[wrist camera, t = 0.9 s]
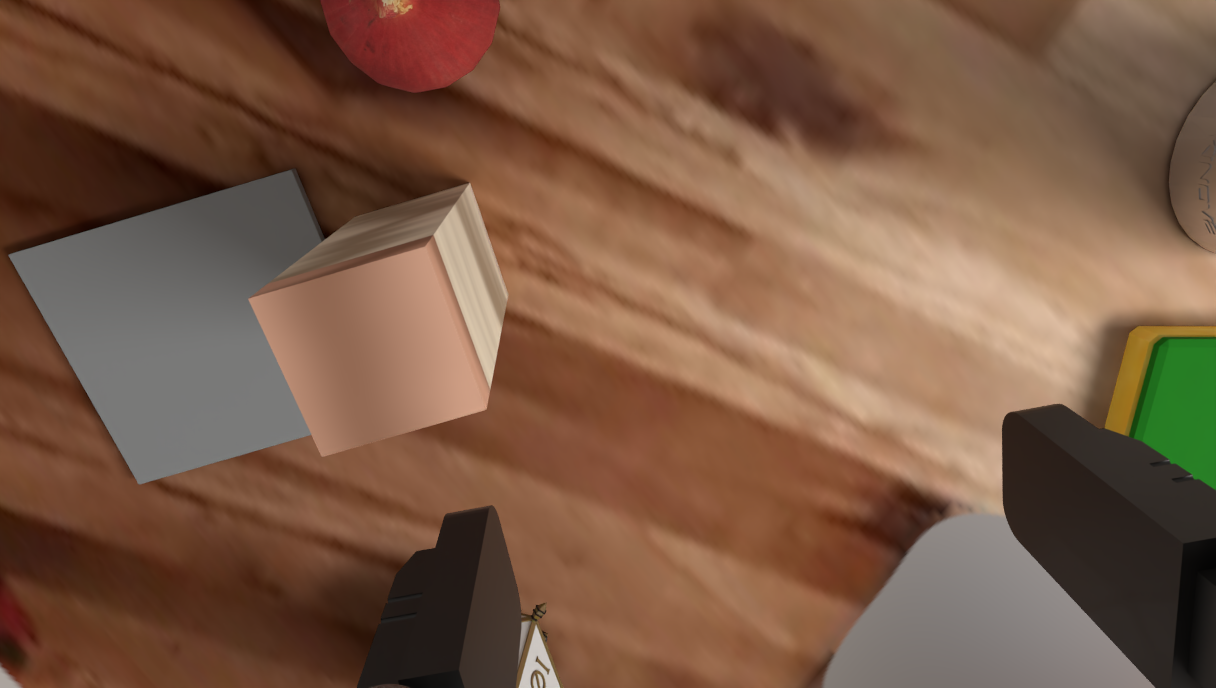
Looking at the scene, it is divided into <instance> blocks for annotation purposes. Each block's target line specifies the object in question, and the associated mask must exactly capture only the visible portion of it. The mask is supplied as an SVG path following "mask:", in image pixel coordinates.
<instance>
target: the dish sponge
mask: <svg viewBox="0 0 1216 688" xmlns="http://www.w3.org/2000/svg"><path fill="white" fill-rule="evenodd" d="M1104 428H1105V429H1108V430H1111V431H1114V432H1117V433H1120V434H1123V435H1125V436H1128V437H1131V438H1134V439H1137V440H1140V441H1142V442H1144V443H1145V444H1147V445H1148V446H1150V447H1151V448H1153V449H1154V450H1156V451H1157V452H1159V453H1160V454H1162V455H1163V456H1165V457H1166V458H1168V459H1169V460H1170V463H1171V464H1174V463H1175V464H1177V465H1179V466H1180V467H1182V468H1183V469H1185V470H1186V471H1188V472H1189V473H1191V474H1192V475H1193V478H1194V479H1200V480H1201V481H1203V482H1204V483H1206V484H1207V485H1209V486H1210V487H1212V488H1213V489H1215V490H1216V326H1138V327H1136V328H1135V329H1134V330H1132V331H1131V332H1130V333H1129V336H1128V340H1127V344H1126V348H1125V351H1124V355H1123V359H1122V363H1121V367H1120V370H1119V374H1118V378H1117V382H1116V386H1115V389H1114V393H1113V397H1112V401H1111V405H1110V408H1109V412H1108V416H1107V420H1106V423H1105V427H1104Z"/></svg>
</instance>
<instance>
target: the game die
mask: <svg viewBox="0 0 1216 688" xmlns="http://www.w3.org/2000/svg"><path fill="white" fill-rule="evenodd" d="M545 613H546V603H544V604H541V605H536V608H535V609H533V614H532V615H527V614H523V613H521V620H522V626H521V638H520V649H519V660H518V671H517V682H516V688H563V685H562V683H561V680H560V677H559V675H558V672H557V670H556V667H555V664H554V662H553V659H552V657H551V654H550V651H549V649H548V646H547V644H546V642H547V634H548V633H543V632H542V631H541V628H540V625H539V623H538V619H539V618H542V616H543V614H545Z"/></svg>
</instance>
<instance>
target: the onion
mask: <svg viewBox="0 0 1216 688" xmlns="http://www.w3.org/2000/svg"><path fill="white" fill-rule="evenodd" d="M320 2H321V5H322V8H323V12H324V15H325V18H326V22H327V25H328V29H329V32H330V35H331V36H332V37H333V39H334V40H335V41H336V43H337V44H338V45H339V47H340V48H341V50H342V51H343V52H344V54H345V55H346V56H347V58H348V59H349V60H350V62H351V63H352V64H354V65H355V66H356V67H358V68H359V69H360V70H362V71H363V72H364V73H365V74H367V75H368V76H369V77H371V78H372V79H373V80H375V81H376V82H377V83H379V84H381V85H385V86H389V87H393V88H397V89H401V90H405V91H409V92H413V93H417V92H423V91H428V90H434V89H439V88H445V87H447V86H449V85H450V84H452V83H453V82H455V81H457V80H458V79H460V78H461V77H463V76H464V75H466V74H467V73H469V72H471V71H472V70H473V69H474V68H475V66H476V65H477V63H478V62H479V61H480V59H481V58H482V56H483V55H484V54H485V52H486V51H487V49H488V48H489V46H490V45H491V44H492V41H493V37H494V32H495V28H496V24H497V19H498V15H499V10H500V4H499V0H320Z"/></svg>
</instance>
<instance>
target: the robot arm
mask: <svg viewBox="0 0 1216 688" xmlns="http://www.w3.org/2000/svg"><path fill="white" fill-rule="evenodd" d="M1169 190H1170V197H1171V204H1172V207H1173V210H1174V212H1175V215H1176V217H1177V220H1178V222H1179V224H1180V225H1181V227H1182V228H1183V229H1184V231H1185V232H1186V233H1187V235H1188V236H1189V237H1190V238H1191V239H1192V240H1194V241H1195V242H1196V243H1197V244H1199V245H1200V246H1201V247H1203V248H1204V249H1206V250H1209V251H1211V252H1214V253H1216V81H1215V82H1214V83H1213V84H1212V85H1211V86H1210V87H1209V89H1208V90H1207V91H1206V92H1205V93H1204V94H1203V95H1202V96H1201V98H1200V99H1199V101H1198V102H1197V104H1196V105H1195V106H1194V108H1193V109H1192V111H1191V112H1190V114H1189V115H1188V117H1187V119H1186V121H1185V123H1184V125H1183V127H1182V129H1181V131H1180V133H1179V136H1178V138H1177V141H1176V144H1175V148H1174V151H1173V155H1172V159H1171V163H1170V175H1169ZM1002 472H1003V506H1004V511H1005V515H1006V518H1007V521H1008V524H1009V526H1010V528H1011V530H1012V532H1013V534H1014V536H1015V537H1016V538H1017V540H1018V541H1019V542H1020V543H1021V544H1022V545H1023V546H1024V547H1025V549H1026V550H1027V551H1028V552H1029V553H1030V554H1031V555H1032V556H1033V557H1034V558H1035V559H1036V560H1037V561H1038V563H1039V564H1040V565H1041V566H1042V567H1043V568H1044V569H1045V570H1046V571H1047V572H1048V573H1049V574H1050V575H1051V576H1052V577H1053V579H1054V580H1055V581H1056V582H1057V583H1058V584H1059V585H1060V586H1061V587H1062V588H1063V589H1064V590H1065V591H1066V592H1067V593H1068V595H1069V596H1070V597H1071V598H1072V599H1073V600H1074V601H1075V602H1076V603H1077V604H1078V605H1079V606H1080V607H1081V609H1082V610H1083V611H1084V612H1085V613H1086V614H1087V615H1088V616H1089V617H1090V618H1091V619H1092V620H1093V621H1094V622H1095V623H1096V625H1097V626H1098V627H1099V628H1100V629H1101V630H1102V631H1103V632H1104V633H1105V634H1106V635H1107V636H1108V637H1109V638H1110V640H1112V641H1113V643H1114V644H1115V645H1116V646H1117V647H1118V648H1119V649H1120V650H1121V651H1122V652H1123V653H1124V654H1125V655H1126V657H1127V658H1128V659H1129V660H1130V661H1131V662H1132V663H1133V664H1134V665H1135V666H1136V667H1137V668H1138V669H1139V671H1140V672H1141V673H1142V674H1143V675H1144V676H1145V677H1146V678H1147V679H1148V680H1149V681H1150V682H1151V683H1152V684H1153V685H1154V686H1155V688H1216V490H1215V489H1213V488H1212V487H1210V486H1209V485H1207V484H1206V483H1204V482H1203V481H1201V480H1200V479H1194V478H1193V475H1192V474H1191V473H1189V472H1188V471H1186V470H1185V469H1183V468H1182V467H1180V466H1179V465H1177V464H1175V463H1174V464H1171V463H1170V460H1169V459H1168V458H1166V457H1165V456H1163V455H1162V454H1160V453H1159V452H1157V451H1156V450H1154V449H1153V448H1151V447H1150V446H1148V445H1147V444H1145V443H1144V442H1142V441H1140V440H1137V439H1134V438H1131V437H1128V436H1125V435H1123V434H1120V433H1117V432H1114V431H1111V430H1108V429H1105V428H1103V429H1098V428H1097V427H1095V426H1094V425H1092V424H1091V423H1089V422H1088V421H1086V420H1085V419H1084V418H1082V417H1081V416H1079V415H1078V414H1076V413H1075V412H1073V411H1072V410H1071V409H1069V408H1068V407H1066V406H1064V405H1062V404H1053V405H1048V406H1042V407H1037V408H1031V409H1026V410H1020V411H1015V412H1010V413H1008V414H1007V415H1006V416H1005V418H1004V420H1003V425H1002ZM521 626H522V620H521V606H520V598H519V593H518V588H517V584H516V580H515V576H514V573H513V569H512V565H511V561H510V558H509V554H508V550H507V546H506V543H505V539H504V535H503V532H502V528H501V524H500V520H499V517H498V514H497V511H496V509H495V508H494V506H492V505H491V506H486V507H480V508H475V509H469V510H464V511H458V512H453V513H447V514H446V515H445V517H444V520H443V523H442V527H441V530H440V534H439V537H438V541H437V544H436V548H432V549H427V550H421V551H416V552H415V554H414V555H413V556H412V557H411V558H410V559H409V560H408V562H407V563H406V564H405V565H404V566H403V567H402V568H401V569H400V571H399V572H398V573H397V574H396V576H395V579H394V582H393V585H392V588H391V590H390V593H389V596H388V603H386V605H385V608H384V611H383V613H382V616H381V624H379V625H378V628H377V631H376V634H375V636H374V639H373V642H372V645H371V648H370V651H369V654H368V657H367V659H366V662H365V665H364V668H363V671H362V674H361V677H360V680H359V682H358V685H357V688H516V682H517V671H518V660H519V649H520V638H521Z"/></svg>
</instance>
